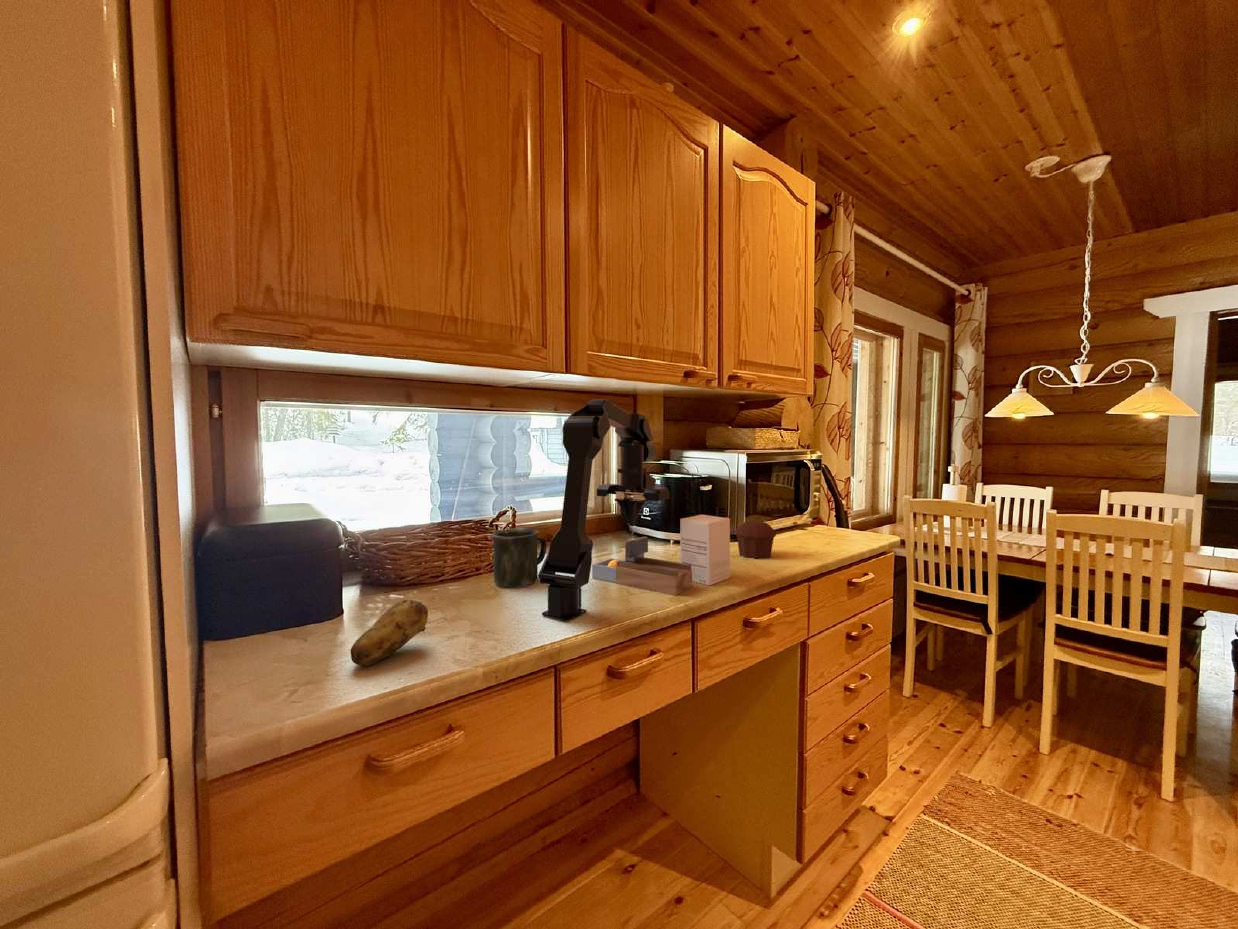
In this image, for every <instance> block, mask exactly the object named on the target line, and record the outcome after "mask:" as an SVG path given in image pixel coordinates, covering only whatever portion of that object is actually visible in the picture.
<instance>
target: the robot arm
mask: <svg viewBox="0 0 1238 929" xmlns="http://www.w3.org/2000/svg"><path fill="white" fill-rule="evenodd" d="M611 427H613V428H614V433H616V434H617V436H619V438H620V439H621V440H620V441H619V442H618V445H617V446H618V447H620V468H617V474H620V484H619V483H605V484H599V485H598V486H597V487H596V496H597V497H607V496H608V495H616V496H615V498H614V502H617V504H618V506H619V508H620V509H621V510H622V512H623V514H624V516H625V519H626V520H627V523H628V526H629V527H634V526H636V522H637V521H638V517H639V514H640V511H641V509H642V506H644V504H645V503H646V502H651V501H652V502H661V501H665V500H670V491H669V489H668V487H664V486H663V487H661V486H656V484H657V483H656V482H657V478H655V477H653V476H651V475H648V474H647V473H648V470H647V468H646V467H644V464H645V463H650V462H653V461H654V460H655V458H656V457H657V456H658V455H657V454H658V450H657V447H656V445H655V443H653V442H652V441H653V440H654V439H653V438H654V437H653V434H652V431H651V427H650V423H649V420H648V419H647V417H646V416H645V414H643V413H633V412H628V411H626V410H624V409H622V408H621V407H619V406H617V405H616V404H614V403H612V400H609V399H607V398H602V399H601V398H598V399H590V400H587V402H586V403H585V404H584V405H583V406H581V407H580V408H579V409H577V410H575V411H573V412H572V413H571V414H570V415H569V416H568V417H567V419H565V420H564V422H563V424H562V430H561V432H562V445H563V447H564V449H565V452H566V453H567V456H568V460H567V468H566V470H567V471H566V478H565V484H564V485H565V486H564V496H563V502H562V503H563V504H562V513H561V519H560V520H561V521H560V528H559V529H558V530H557V532H556V533H555V534H554V536H553V537H552V539H551V540H550V544H549V549H548V552H547V554H546V555H545V556H546V557H545V558H544V560H543V562H542V565H541V568H540V569H539V572H538V580H539V581H538V582H539V584H541V585H547V610H545V611H542V612H541V616H543V617H546V618H550V619H555V620H558V621H562V622H564V623H565V622H570V621H572V620H573V619H576V618H578V617H580V616H583V615H585V614H587V613H588V610H587V609H584V608H582V587H584V586H586V585H587V584H589V581H590V576H591V571H592V564H593V563H592V562H593V556H592V553H593V548H594V547H593V546H594V543H593V540H592V538H589V536H588V534H587V531H586V522H587V516H588V515H587V514H588V505H589V495H590V487H591V476H592V467H593V461H594V459H595V457H596V456H597V455H598V454H599V453H600V451H601V450H602V448H603V442H604V438H605V437H606V435H607V434H608V433H609V430H610V429H611ZM558 573H559V574H558ZM564 574H565V575H564ZM571 575H572V576H571ZM573 575H574V576H573Z"/></svg>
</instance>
